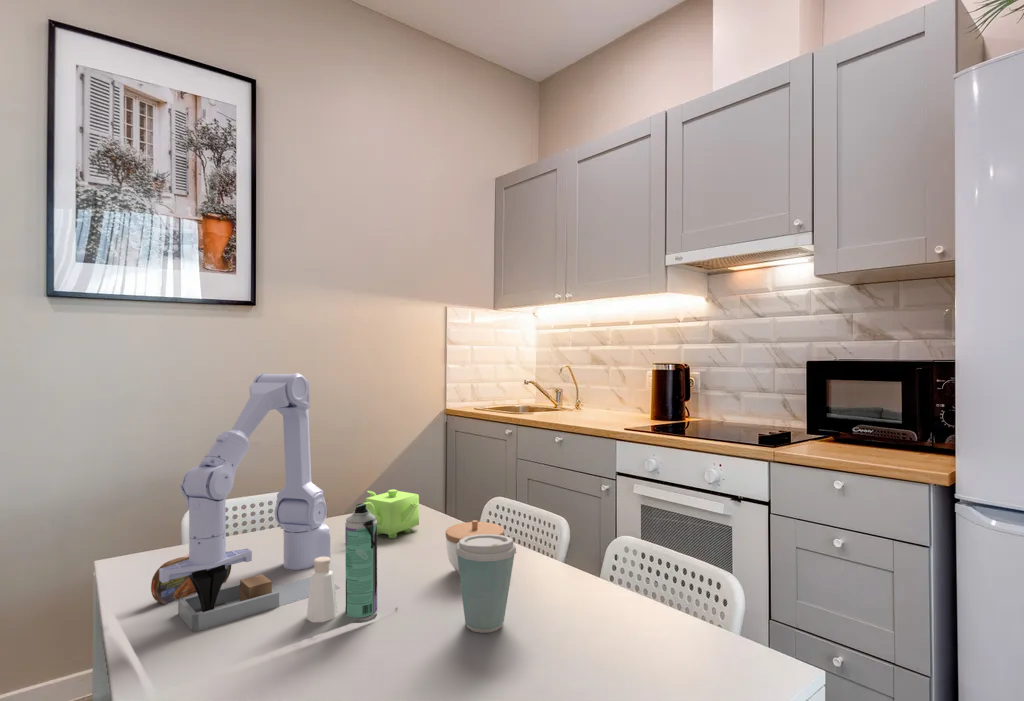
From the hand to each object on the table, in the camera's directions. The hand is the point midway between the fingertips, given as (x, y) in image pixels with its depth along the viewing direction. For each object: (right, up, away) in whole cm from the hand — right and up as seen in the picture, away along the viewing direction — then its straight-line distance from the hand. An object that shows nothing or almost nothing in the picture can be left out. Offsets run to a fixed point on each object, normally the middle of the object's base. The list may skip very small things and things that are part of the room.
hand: (207, 611), depth 101 cm
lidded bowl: (+46, -2, +22) cm, 51 cm away
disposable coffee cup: (+49, -2, -2) cm, 49 cm away
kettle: (+21, -3, +51) cm, 56 cm away
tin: (-9, -2, +11) cm, 14 cm away
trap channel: (+6, -2, +6) cm, 9 cm away
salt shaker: (+20, -2, 0) cm, 20 cm away
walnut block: (+6, -1, +6) cm, 8 cm away
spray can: (+27, -2, +2) cm, 27 cm away
